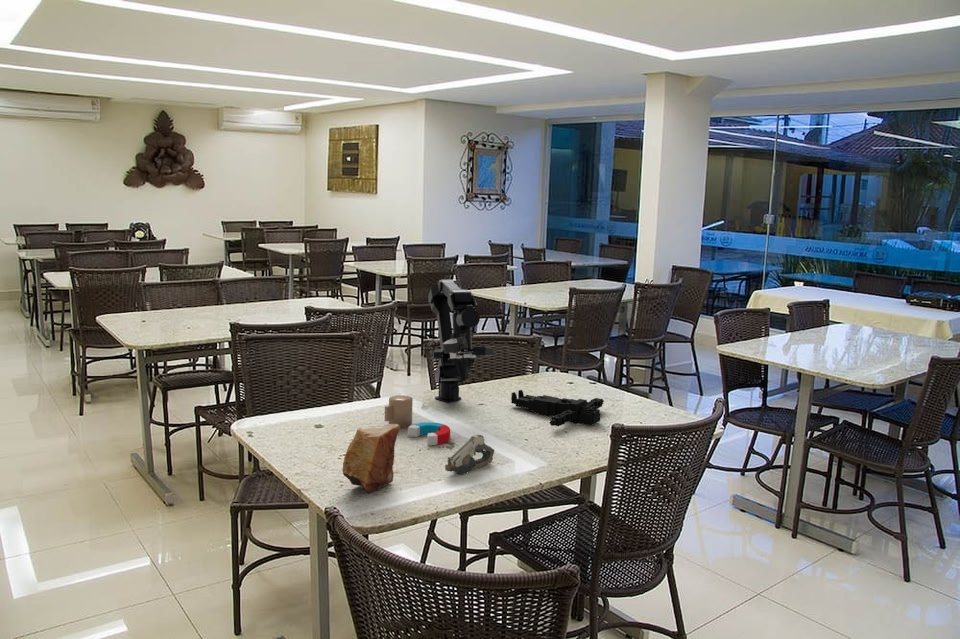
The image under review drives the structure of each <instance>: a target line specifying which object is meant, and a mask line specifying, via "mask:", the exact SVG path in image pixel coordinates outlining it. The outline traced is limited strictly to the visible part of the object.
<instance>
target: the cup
mask: <svg viewBox="0 0 960 639" xmlns="http://www.w3.org/2000/svg"><path fill="white" fill-rule="evenodd" d="M413 399H414V398H413V397H412V396H409V395H405V394H404V395H392V396H390V397H389V398H388V405H384V421H385V422H388V424H398V425H399V426H400V429H406V428H407V429H408V427H409V426H411V425H413Z"/></svg>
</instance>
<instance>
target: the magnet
mask: <svg viewBox="0 0 960 639" xmlns="http://www.w3.org/2000/svg"><path fill="white" fill-rule="evenodd" d="M424 435H427V438H426V439H427V440H426V442H427V446H436V445H442V444H445V443H447V442H449V441H450V439H451V428H450V426H448V425H447V424H444V423H441V422H431V421H429V422H428V421H427V422H426V421H425V422H418V423H417V422H416V423H414V424H412V425H411V426H409V427H408V428H407V437H413V438H418V437H419V436H424Z"/></svg>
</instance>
